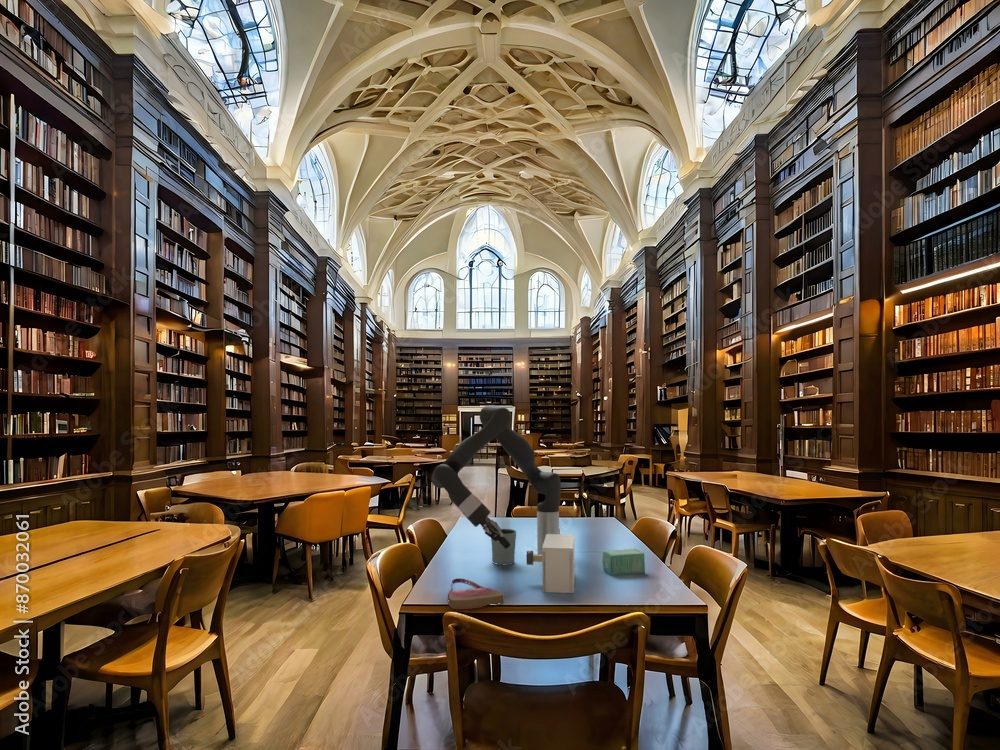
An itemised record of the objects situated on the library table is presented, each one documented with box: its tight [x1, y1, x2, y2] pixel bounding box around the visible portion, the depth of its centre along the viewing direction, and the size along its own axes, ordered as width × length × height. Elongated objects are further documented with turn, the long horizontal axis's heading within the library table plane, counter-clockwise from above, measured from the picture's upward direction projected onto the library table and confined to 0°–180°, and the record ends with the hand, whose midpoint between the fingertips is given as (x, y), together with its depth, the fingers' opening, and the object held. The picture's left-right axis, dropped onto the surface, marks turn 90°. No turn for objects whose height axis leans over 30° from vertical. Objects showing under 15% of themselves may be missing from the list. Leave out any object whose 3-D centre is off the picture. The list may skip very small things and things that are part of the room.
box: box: [602, 548, 646, 576], centre depth 203 cm, size 7×14×8 cm, turn 104°
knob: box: [526, 550, 542, 566], centre depth 191 cm, size 5×8×5 cm, turn 82°
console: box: [541, 533, 576, 594], centre depth 190 cm, size 22×10×14 cm, turn 172°
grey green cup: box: [490, 528, 517, 565], centre depth 217 cm, size 10×10×12 cm
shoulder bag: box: [447, 578, 504, 610], centre depth 178 cm, size 17×3×28 cm
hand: (508, 546), depth 193 cm, fingers closed
